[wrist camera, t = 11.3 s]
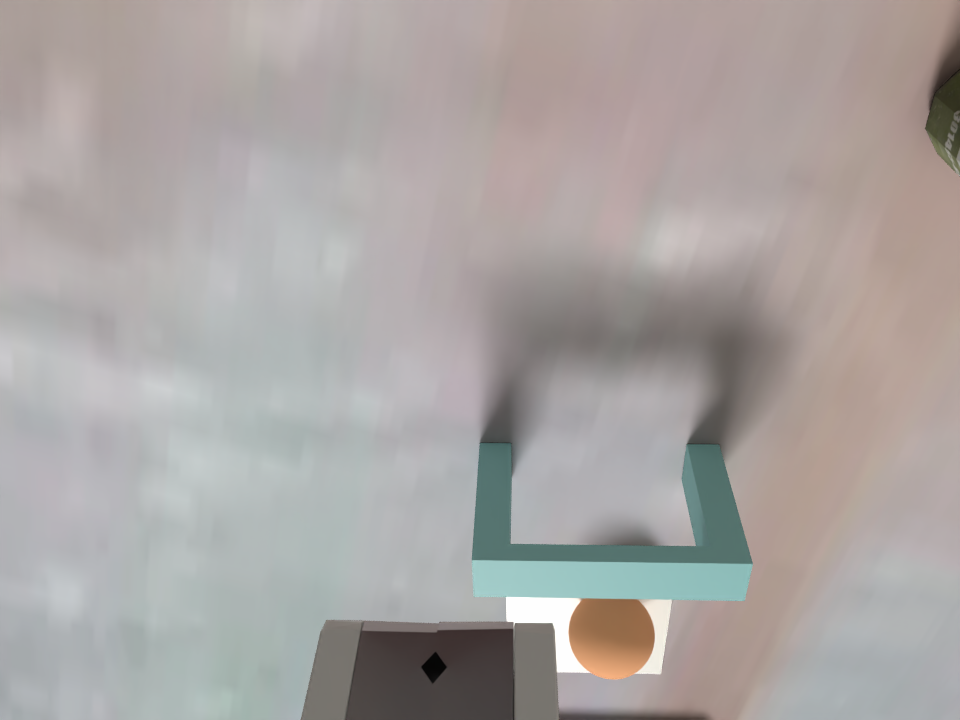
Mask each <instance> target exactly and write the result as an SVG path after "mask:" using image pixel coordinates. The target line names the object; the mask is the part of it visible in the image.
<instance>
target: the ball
mask: <svg viewBox="0 0 960 720" xmlns="http://www.w3.org/2000/svg"><path fill="white" fill-rule="evenodd" d="M568 634H569V642H570V646H571V649H572V652H573V654H574V656H575V657H576V659H577V660H578V662H579V663H580V664H581V665H582V666H583V667H584V668H585V669H586V670H588V671H589V672H591V673H592V674H594V675H596V676H598V677H602V678H605V679H622V678H626V677H629V676H631V675H633V674H635V673H636V672H638V671H639V670H640V669H641V668H642V667H643V666H644V665H645V664H646V663H647V661H648V660H649V658H650V656H651V654H652V651H653V648H654V642H655V631H654V625H653V622H652V619H651V617H650V615H649V613H648V611H647V610H646V608H645V607H644V606H643V605H642V604H641V602H640V601H638V600H637V599H595V598H584V599H583V600H582V601H581V602H580V603H579V604H578V605H577V607H576V608H575V610H574V611H573V614H572V616H571V619H570V622H569V630H568Z"/></svg>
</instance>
